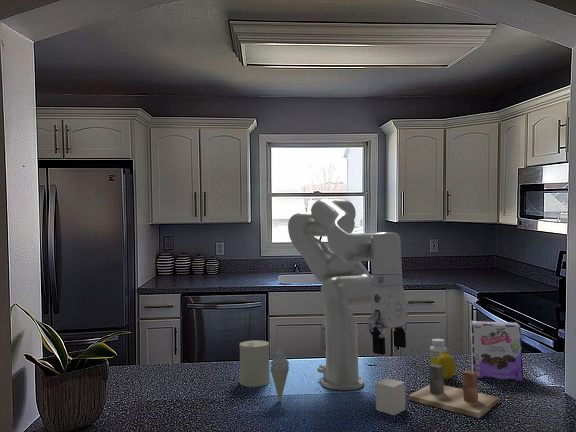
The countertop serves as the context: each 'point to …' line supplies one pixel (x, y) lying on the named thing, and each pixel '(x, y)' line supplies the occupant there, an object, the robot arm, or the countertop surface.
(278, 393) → the ice cream cone
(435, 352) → the supplement bottle
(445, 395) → the stand
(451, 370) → the lemon
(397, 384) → the white rectangular block
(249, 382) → the can
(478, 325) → the candy box
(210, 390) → the countertop surface
